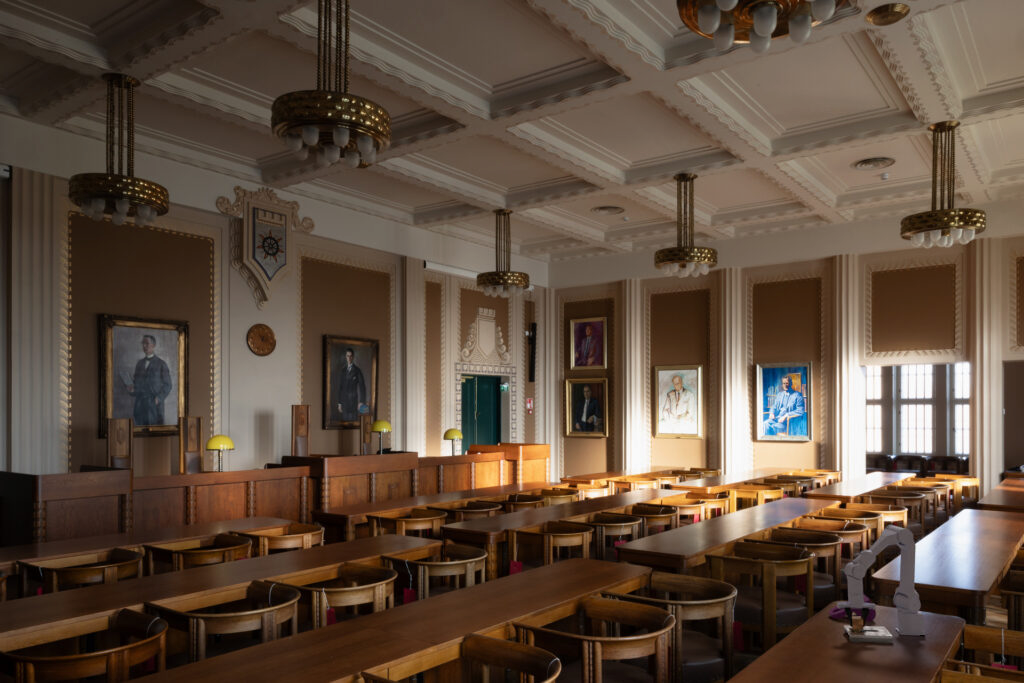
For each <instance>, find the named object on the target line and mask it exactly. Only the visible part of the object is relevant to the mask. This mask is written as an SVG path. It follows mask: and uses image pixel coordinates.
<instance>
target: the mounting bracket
mask: <svg viewBox="0 0 1024 683" xmlns="http://www.w3.org/2000/svg"><path fill="white" fill-rule="evenodd" d="M863 601H864V603H872V601H871V600H870V598H869V597H868V596H866V594H864V593H863ZM846 602H849V600H847V601H846ZM851 611H852V614H853V613H854V614H855V616H861V609H855V608H851ZM869 611H870V612H869V614H868V616H867V619H866V622H872V621H874V619H876V615H877V611H876V610H874V609H869ZM828 614H829V616H830V618H831V617H832V618H831V619H833V618H834V620H837V619H841V618H844V617H847V614H846V612H845V610H844V608H841V609H838V607H837V605H836V606H834V607H832V608H831V609H830V610H829V611H828Z"/></svg>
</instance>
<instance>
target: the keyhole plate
mask: <svg viewBox="0 0 1024 683" xmlns="http://www.w3.org/2000/svg"><path fill="white" fill-rule="evenodd" d="M843 633H844V634H845V633H848V634H847V635H849V642H850V641H851V642H850V643H861V642H876V643H875V644H889V643H893V644H894V636H893V635H892V633H890V631H889V630H888V629H887V628H886V627H885V626H875V625H874V626H871V625H869V626H868V625H865V627H863V629H860V632H855V629H853V628H852V627H851V626H850V625H845V624H844V625H843ZM878 642H879V643H878Z"/></svg>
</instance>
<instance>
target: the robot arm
mask: <svg viewBox="0 0 1024 683" xmlns="http://www.w3.org/2000/svg"><path fill="white" fill-rule="evenodd" d="M889 545H897V546H898V547H899V548H900V561H899V562H900V563H899V570H900V571H899V586H897V587H896V588H895V593H894V596H893V598H892V601H893V605H894V606H896V609H897V621H898V627H895V630H896V631H897V632H898V634H900V635H902V636H920V635H925V636H926V633H925V617H924V613H923V612H922V611H920V609H921V606H922V605H921V601H920V595H919V593H918V592H917V590H916V589H915V574H916V548H917V547H916V546H917V545H916V542H915V540H914V533H913V532H912V531H911V530H910V529H909V528H903V527H901V526H897V525H894V524H888V525H887V526H886V527H885V528H884V529H883V530H882V533H881V535H880V536H879V538H878V539H877V540H876V541H875V542H874V543H873V544H872V546H871V547H870V548H869V549H863V550H861V551H860V552H859V555H858V556H857V557H856V558H855V559H853V560H852V561H851V562H848V563H847V564H846V565H845V567H844V568H843V572H844V574H845V575H846V579H847V597H848V599H847V601H849V602H847V601H845V602H836V606H837V607H838V609H841V608H844V610H845V612H846V614H847V615H846V617H847V620H848V623H849V626H851V627H853V623H852V616H853V613H852V611H851V608H855V609H861V618H862V619H863V627H865V626H866V622H867V621H866V619H867V616H868V614H869V612H870V611H869V609H874V610H875V611H876V609H877V608H876V607H877V606H876V604H875V603H872V602H871V603H864V601H863V594H864V584H863V583H864V582H863V580H864V579H863V578H865V576H866V573H867V570H868V569H869V568H870V567H871V566H872V565H873V564H874V563H875V562H876V559H877V558H876V556H878V555H879V554H880V553H881V552H882V551H883V550H885V548H887V547H888V546H889Z"/></svg>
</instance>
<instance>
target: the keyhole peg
mask: <svg viewBox="0 0 1024 683" xmlns="http://www.w3.org/2000/svg"><path fill="white" fill-rule="evenodd" d="M852 623H853V627H852V628H853V629H855V632H860V629H863V619H862V618H861V616H857V615H854V616H853V615H852Z"/></svg>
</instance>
